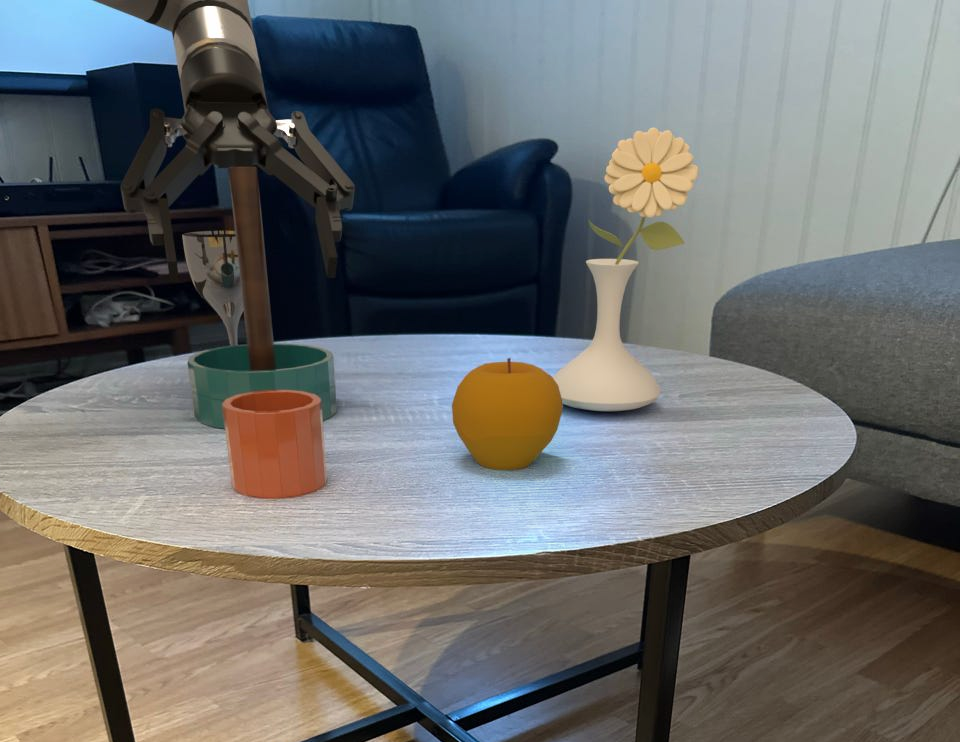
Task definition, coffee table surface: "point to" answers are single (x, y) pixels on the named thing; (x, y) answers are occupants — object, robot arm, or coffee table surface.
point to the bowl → (258, 377)
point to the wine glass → (216, 274)
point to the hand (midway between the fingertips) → (254, 270)
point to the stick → (252, 267)
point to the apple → (506, 413)
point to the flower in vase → (628, 271)
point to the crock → (275, 443)
